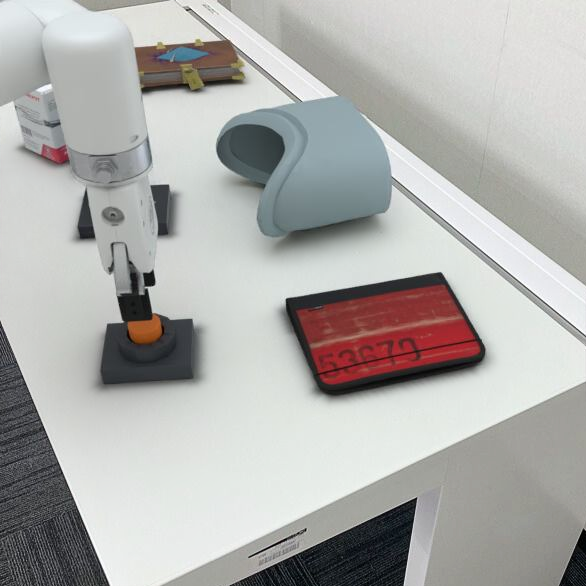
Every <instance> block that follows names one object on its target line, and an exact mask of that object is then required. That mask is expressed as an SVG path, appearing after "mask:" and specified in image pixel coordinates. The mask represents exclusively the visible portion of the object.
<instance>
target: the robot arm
mask: <svg viewBox="0 0 586 586" xmlns="http://www.w3.org/2000/svg"><path fill="white" fill-rule="evenodd" d="M134 47H135V42H134V38H133V34H132V31H131V30H130V27H129V25H128V24H127V23H126V22H125V21H124V20H123V19H122V18H120V17H118V16H116V15H114V14H111V13H109V12H102V11H93V10H92V11H91V10H89V9H87V8H86V7H84V6H83V5H81V4H80V3H78V2H76V1H75V0H2V1H0V108H1V107H3V106H5V105H7V104H10V103H13V101H14V100H16V99H18V98H20V97H22V96H24V95H26V94H28V93H30V92H33V91H35V90H37V89H39V88H41V87H43V86H45V85H49V84H51V85H52V89H53V93H54V97H55V102H56V106H57V110H58V114H59V119H60V123H61V127H62V131H63V136H64V139H65V144H66V148H67V152H68V157H69V160H68V161H69V165H70V168H71V173H72V176H73V178H74V179H75V180H76V181H78V182H79V183H80V184H83V185H84V186H85V189H86V188H87V194H88V200H89V207H90V211H91V217H92V222H93V227H94V232H95V240H96V246H97V250H98V255H99V259H100V262H101V267H102V268H103V271H104V272H105V273H106V274H108V275H109V276H111V275H112V273H113V281H114V286H115V295H116V299H117V303H118V308H119V313H120V317H121V321H122V322H133V321H150V320H152V318H153V313H154V312H153V308H152V302H151V297H150V293H149V288H151V287H155V286H156V283H157V280H156V273H155V269H154V268H155V266H156V265H155V264H156V258H157V248H158V245H157V244H158V235H159V234H158V221H157V215H156V211H155V206H154V201H153V197H152V192H151V187H150V185H151V183H150V177H149V173H151V171H152V169H153V167H154V166H153V165H154V162H153V154H152V148H151V142H150V135H149V131H148V124H147V117H146V111H145V105H144V99H143V94H142V88H141V86H140V80H139V73H138V67H137V61H136V54H135V48H134Z"/></svg>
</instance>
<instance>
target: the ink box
mask: <svg viewBox="0 0 586 586" xmlns="http://www.w3.org/2000/svg"><path fill="white" fill-rule="evenodd" d="M12 103H13V106H14V111H15V113H16V117H17V121H18V125H19V129H20V133H21V136H22V140H23V143H24V147H25V148H26V150H29V151H31V152H34V153H35V154H38V155H40V156H42V157H44V158H46V159H49V160H51V161H52V162H54V163H57V164H62V163H64V162H66V161H69V157H68V152H67V148H66V144H65V139H64V136H63V131H62V127H61V123H60V119H59V114H58V110H57V106H56V102H55V97H54V93H53V89H52V85H51V84H49V85H45V86H43V87H41V88H39V89H37V90H35V91H33V92H30V93H28V94H26V95H24V96H22V97H20V98H18V99H16V100H14V101H12Z"/></svg>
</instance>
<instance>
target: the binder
mask: <svg viewBox="0 0 586 586" xmlns="http://www.w3.org/2000/svg"><path fill="white" fill-rule="evenodd" d="M284 303H285V310H286V313H287V315H288V317H289V320H290V324H291V325H292V328H293V330H294V333H295V334H296V337H297V340H298V343H299V345H300V347H301V349H302V352H303V354H304V357H305V360H306V362H307V364H308V366H309V369H310V371H311V373H312V375H313V379H314V380H315V382H316V384H317V386H318V388H319V389H320V390H322V391H323V392H325V393H328V394H332V395H338V394H339V395H340V394H345V393H352V392H357V391H361V390H367V389H371V388H378V387H383V386H387V385H393V384H399V383H403V382H408V381H411V380H417V379H420V378H425V377H429V376H433V375H438V374H442V373H447V372H450V371H455V370H459V369H462V368H466V367H470V366H474V365H477V364H479V363H481V362H482V361H483V360H484V358H485V356H486V351H487V350H486V347H485V344H484V342H483V340H482V338H481V336H480V335H479V333H478V331H477V329H476V327H474V325H473V323H472V321H471V319H470V318H469V316H468V314H467V312H466V310H465V308H463V305H462V304H461V302H460V301H459V299H458V297H457V295H456V294H455V292H454V290H453V289H452V287H451V285H450V283H449V282H448V280H447V279H446V277H445V275H444V273H443V272H442V271H437V272H431V273H425V274H420V275H414V276H409V277H404V278H403V277H402V278H396V279H391V280H385V281H380V282H375V283H368V284H364V285H363V284H361V285H357V286H351V287H345V288H340V289H333V290H328V291H322V292H316V293H311V294H310V293H309V294H305V295H298V296H293V297H292V296H291V297H286V298H285V300H284Z"/></svg>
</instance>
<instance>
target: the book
mask: <svg viewBox="0 0 586 586" xmlns="http://www.w3.org/2000/svg"><path fill="white" fill-rule="evenodd" d="M134 48H135V54H136V61H137V67H138V73H139V80H140V86H141V89H143V88H146V87H147V88H148V87H159V86H169V85H179V84H180V85H181V84H188V85H189V88H190V91H194V90H198V89H200V88H203V87H204V86H205V83H204V82H214V81H224V80H239V81H240V80H244V79H246V75H245V73H244V72H243V71H241V70H240V69H242V68H243V67H245V63H244V61H243V60H242V59H240V58H239V56H238V54H237V52H236V49H235V47H234V45H233V43H232V41H231V39H226V40H224V39H222V40H211V41H209V40H208V41H202V40H201V39H200V38H196V39H195V41H194V42H185V43H173V44H171V43H170V44H164V43H163V42H162V41H158V42H157V44H156V45H147V46H146V45H145V46H134Z"/></svg>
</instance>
